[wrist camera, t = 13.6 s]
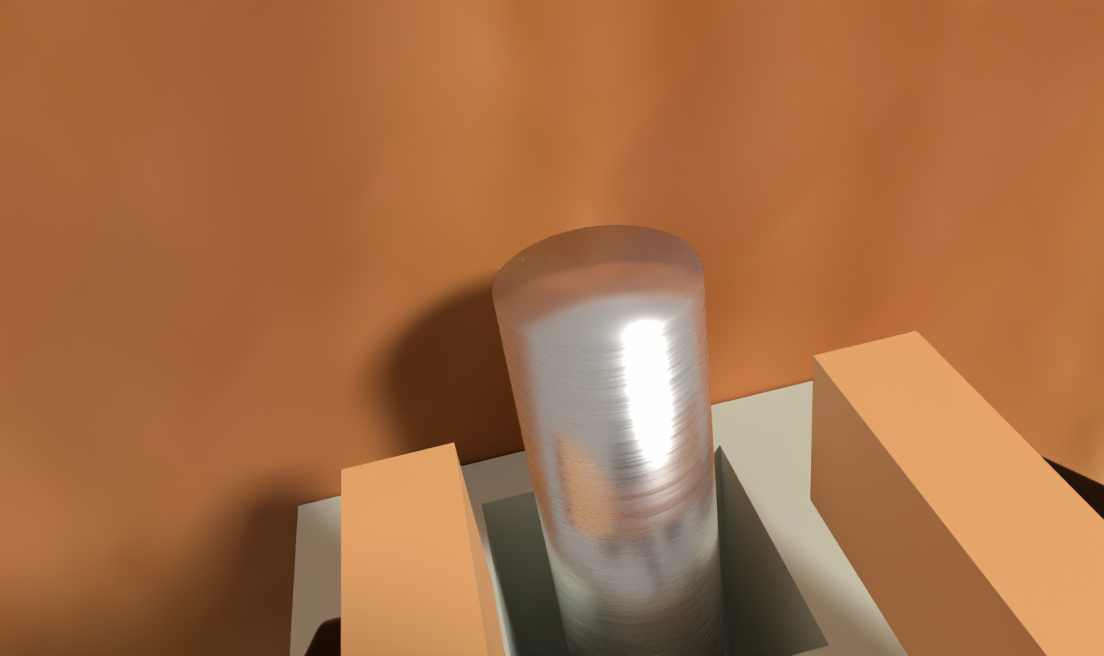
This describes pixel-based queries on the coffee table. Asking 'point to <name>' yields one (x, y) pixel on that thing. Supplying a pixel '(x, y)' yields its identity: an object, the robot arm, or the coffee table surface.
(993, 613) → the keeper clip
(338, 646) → the robot arm
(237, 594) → the coffee table surface
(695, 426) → the pin
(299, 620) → the block
